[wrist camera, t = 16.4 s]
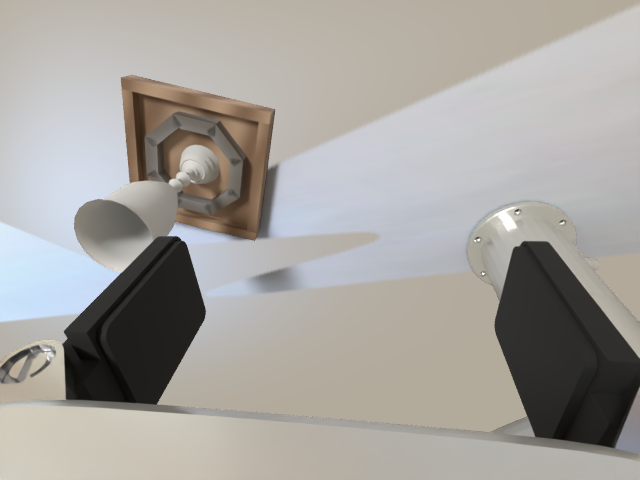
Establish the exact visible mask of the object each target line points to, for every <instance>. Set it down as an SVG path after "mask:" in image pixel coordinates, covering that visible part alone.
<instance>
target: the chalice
mask: <svg viewBox="0 0 640 480" xmlns="http://www.w3.org/2000/svg"><path fill="white" fill-rule="evenodd" d="M180 171H181V172H179V173H177V175H176V179H171V180H170V181H169V184H168V183H166V182H157V181H139V182H132V183H129V184H126V185H124V186H123V187H121V188H120V189H118V190H117V191H115V192H114V193H112V194H111V195H109V196H108V197H106V198H105V199H97V200H93V201H90V202H87V203H85V204H84V205H83V206H82V207H81V208H79V210H78V212H77V214H76V216H75V222H74V229H75V233H76V236H77V240H78V241H79V243H80V245H81V246H82V248H83V249H84V251H85V252H86V253H87V254H88V255H89V256H90V257H91V258H92V259H93V260H94V261H96V262H97V263H99V264H100V265H102V266H104V267H105V268H108V269H111V270H114V271H116V272H123V271H124V270H125V269H126V268H127V267H128V266H129V265H130V264H131V263H132V262H133V261H134V260H135V259H136V258H137V257H138V256H139V255H140V254H141V253H142V252H143V251H144V250H145V249H146V248H147V247H148V246H149V245H150V244H151V243H152V242H153V241H154V240H155V238H157V237H159V236H167V235H168V234H169V232H170V231H171V230H172V228H173V225H174V222H175V218H176V214H177V210H178V195H177V193H178V192H180V191H182V188H183V186H184V187H186V186H188V185H189V184H190V182H191V183H194V184H206V183H211V182H212V181H214V180H215V179H216V178H217V177H218V175H219V171H220V166H219V162H218V159H217V157H216V156H215V154H214V153H213V152H212V151H211V150H209V149H208V148H206V147H204V146H202V145H192V146H189V147H187V148H186V149H185V150H184V151H183V153H182V155H181V161H180Z"/></svg>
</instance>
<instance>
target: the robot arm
mask: <svg viewBox="0 0 640 480" xmlns="http://www.w3.org/2000/svg"><path fill="white" fill-rule="evenodd" d="M515 210H516V211H515ZM476 237H477V238H476ZM576 244H577V235H576V231H575V227H574V225H573V224H572V222H571V220H570V219H569V218H568V217H567V216H566V215H565V214H564V213H563V212H561V211H560V210H559V209H558V208H555V207H553V206H551V205H549V204H545V203H541V202H519V203H514V204H511V205H507V206H504V207H502V208H500V209H497V210H496V211H494V212H492V213H491V214H489V215H488V216H486V217H485V218H484V219H483V220H482V221H481V222H480V223H479V224H478V225H477V226H476V227H475V229H474V230H473V232H472V234H471V236H470V238H469V241H468V244H467V257H468V261H469V264H470V266H471V268H472V270H473V272H474V273H475V274H476V275H477V276H478V277H479V278H480V279H481V280H483V281H485V282H486V283H488V284H490V285H493V288H494V289H495V292H496V294H497V297H498V299H499V301H500V303H499V307H498V311H497V315H496V319H495V332H496V335H497V338H498V341H499V343H500V346H501V349H502V351H503V354H504V356H505V359H506V361H507V364H508V367H509V369H510V372H511V374H512V377H513V380H514V382H515V385H516V388H517V390H518V393H519V396H520V398H521V401H522V403H523V406H524V409H525V411H526V414H527V417H525V418H522V419H520V420H517V421H515V422H512V423H510V424H507V425H505V426H503V427H500V428H498V429H496V430H494V431H492V432H481V431H470V430H458V429H446V428H436V427H424V426H413V425H400V424H390V423H378V422H366V421H355V420H343V419H330V418H319V417H307V416H294V415H282V414H270V413H257V412H245V411H233V410H220V409H206V408H194V407H180V406H167V405H157V403H158V401H159V399H160V397H161V396H162V394H163V392H164V390H165V389H166V387H167V385H168V383H169V381H170V380H171V378H172V376H173V374H174V373H175V371H176V369H177V367H178V365H179V364H180V362H181V360H182V358H183V356H184V355H185V353H186V351H187V349H188V348H189V346H190V344H191V342H192V341H193V339H194V337H195V335H196V333H197V332H198V330H199V328H200V326H201V325H202V323H203V321H204V319H205V314H206V310H205V306H204V302H203V299H202V296H201V292H200V289H199V285H198V282H197V278H196V275H195V272H194V268H193V265H192V261H191V258H190V254H189V251H188V248H187V245H186V243H185V242H184V241H181V239H180V238H179V237H177V236H159V237H157V238H155V240H154V241H153V242H152V243H151V244H150V245H149V246H148V247H147V248H146V249H145V250H144V251H143V252H142V253H141V254H140V255H139V256H138V257H137V258H136V259H135V260H134V261H133V262H132V263H131V264H130V265H129V266H128V267H127V268H126V269H125V270H124V271H123V272H122V273H121V274H120V275H119V276H118V277H117V278H116V279H115V280H114V281H113V282H112V283H111V284H110V285H109V286H108V287H107V288H106V289H105V290H104V291H103V292H102V293H101V294H100V295H99V296H98V297H97V298H96V299H95V300H94V301H93V302H92V303H91V304H90V305H89V306H88V307H87V308H86V309H85V310H84V311H83V312H82V313H81V314H80V315H79V316H78V317H77V318H76V319H75V320H74V321H73V322H72V323H71V324H70V325H69V326H68V327H67V328H66V330H65V331H64V333H65V334H66V336H67V338H68V339H67V340H66V341H65V342H64V343H63V344H61V343H60V342H58V341H57V340H50V339H48V340H39V341H37V342H33V343H29V344H27V345H25V346H23V347H20V348H18V349H16V350H15V351H13V352H12V353H10V354H9V355H7V356H6V357H5V358H3V359H2V360H1V361H0V480H640V322H639V321H638V320H637V318H636V317H635V316H634V315H633V314H632V313H631V312H630V310H629V309H628V308H627V307H626V306H625V305H624V304H623V303H622V302H621V301H620V299H619V298H618V297H617V296H616V295H615V294H614V292H613V291H612V290H611V289H610V288H609V287H608V286H607V284H606V283H605V282H604V281H603V280H602V279H601V277H600V276H599V275H598V274H597V273H596V272H595V271H594V270H597V269H598V268H599V266H600V261H599V260H597V259H593V258H589V257H585V256H584V255H583V254H582V253H581V252H580V251H579V250H578V248H577V247H576Z"/></svg>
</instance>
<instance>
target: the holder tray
mask: <svg viewBox="0 0 640 480" xmlns="http://www.w3.org/2000/svg"><path fill="white" fill-rule="evenodd" d="M121 85H122V97H123V109H124V120H125V132H126V143H127V155H128V166H129V177H130V183H132V182H139V181H157V182H166V183H168V184H169V181H170V180H171V179H176V175H177V173H179V172H181V171H180V161H181V155H182V153H183V151H184V150H185V149H186V148H187V147H189V146H192V145H202V146H204V147H206V148H208V149H209V150H211V151H212V152H213V153H214V154H215V156H216V157H217V159H218V162H219V166H220V171H219V175H218V177H217V178H216V179H215V180H214V181H212V182H211V183H206V184H194V183H191V182H190V184H189V185H188V186H186V187H184V186H183V188H182V191H180V192H178V193H177V195H178V210H177V214H176V218H175V221H176V222H180V223H184V224H188V225H192V226H196V227H200V228H204V229H209V230H213V231H217V232H221V233H225V234H229V235H233V236H238V237H242V238H246V239H250V240H254V241H255V239H256V237H257V235H258V233H259V229H260V221H261V214H262V206H263V199H264V191H265V183H266V176H267V168H268V160H269V153H270V145H271V137H272V129H273V121H274V115H275V109H270V108H267V107H262V106H259V105H254V104H250V103H246V102H241V101H237V100H234V99H230V98H225V97H221V96H217V95H213V94H209V93H205V92H201V91H196V90H192V89H188V88H184V87H180V86H176V85H171V84H167V83H163V82H159V81H155V80H151V79H147V78H142V77H138V76H134V75H130V76H126V77H122V78H121Z"/></svg>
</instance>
